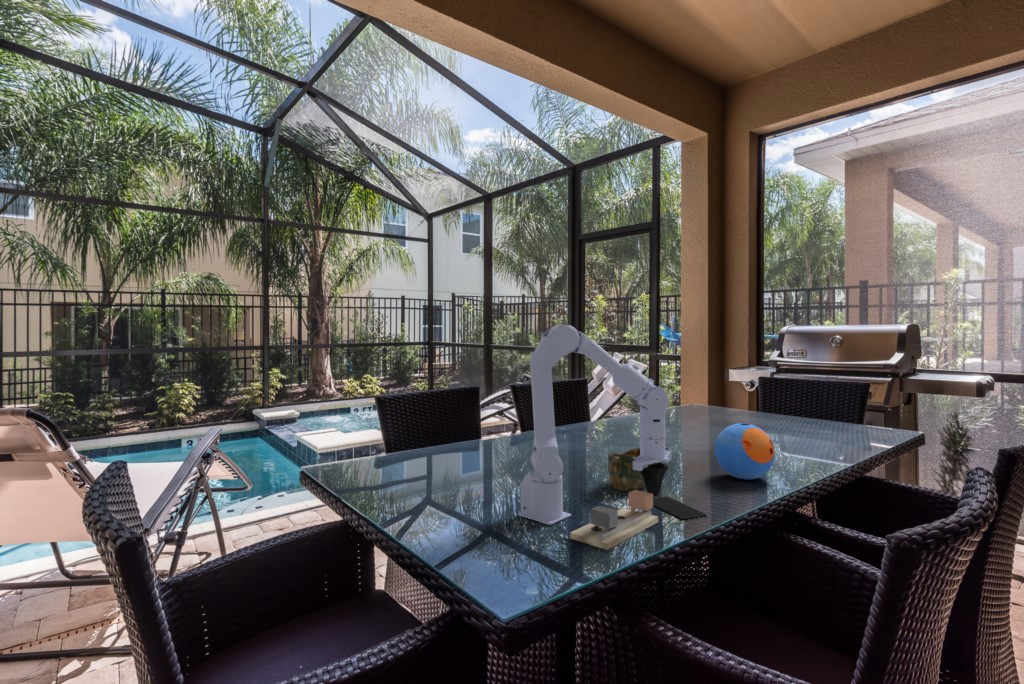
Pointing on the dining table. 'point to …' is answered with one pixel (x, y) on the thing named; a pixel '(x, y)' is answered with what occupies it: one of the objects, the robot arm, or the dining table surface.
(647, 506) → the brownish pink rectangular block
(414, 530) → the dining table surface
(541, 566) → the dining table surface
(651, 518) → the hole plate
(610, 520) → the fixed leg
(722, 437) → the treat dispenser ball
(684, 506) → the smartphone
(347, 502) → the dining table surface
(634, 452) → the cup
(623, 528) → the divider bar
